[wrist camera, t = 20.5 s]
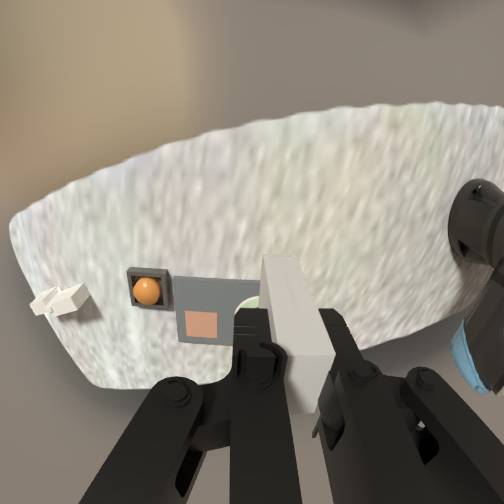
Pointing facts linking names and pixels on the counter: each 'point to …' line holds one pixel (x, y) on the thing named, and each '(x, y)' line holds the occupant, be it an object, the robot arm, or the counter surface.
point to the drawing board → (211, 307)
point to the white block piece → (60, 300)
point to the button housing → (149, 273)
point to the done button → (147, 290)
